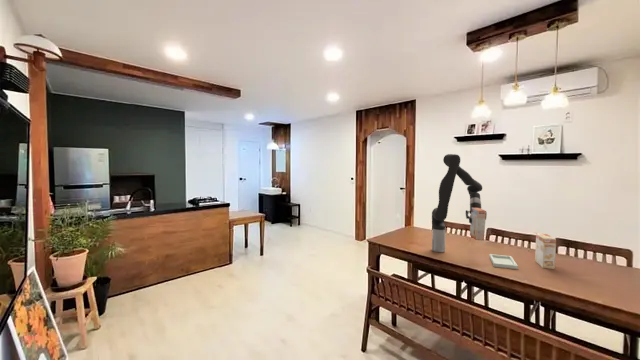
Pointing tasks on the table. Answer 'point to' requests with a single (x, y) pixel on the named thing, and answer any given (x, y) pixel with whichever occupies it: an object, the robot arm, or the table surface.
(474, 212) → the cracker box
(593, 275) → the table surface
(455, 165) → the robot arm
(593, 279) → the table surface
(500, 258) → the sage tray
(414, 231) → the table surface
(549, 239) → the coffeecake box
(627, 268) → the table surface
